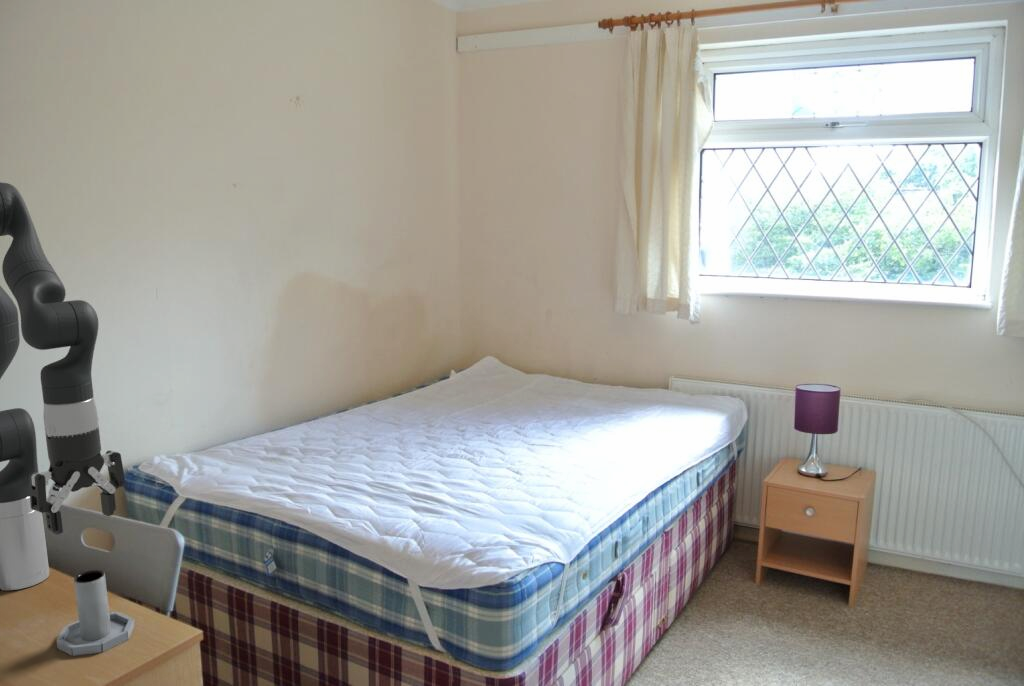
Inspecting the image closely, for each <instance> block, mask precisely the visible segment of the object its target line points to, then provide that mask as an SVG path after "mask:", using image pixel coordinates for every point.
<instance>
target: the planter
mask: <svg viewBox="0 0 1024 686" xmlns="http://www.w3.org/2000/svg"><path fill="white" fill-rule="evenodd" d="M73 585H74V592H75V599H76V607H77V609H76V610H77V616H78V620H79V625H80V633H81V638H82V639H84V640H89V641H90V640H97V639H100V638H103V637H105V636H107V635H108V634H109V633H110V632H111V622H110V614H109V613H110V608H109V597H108V590H107V580H106V574H105V571H103V570H99V569H92V570H88V571H84V572H81V573H79V574H77V575H76V576H75V577H74V578H73Z"/></svg>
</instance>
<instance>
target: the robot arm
mask: <svg viewBox="0 0 1024 686" xmlns="http://www.w3.org/2000/svg"><path fill="white" fill-rule="evenodd" d="M4 236H11V237H12V242H11V244H10V246H9V248H8V249H7V251H6V253H5V255H4V258H3V261H2V266H1V268H2V269H1V271H2V275H3V279H4V281H5V284H6V285H7V287H8V288H9V290H10V292H11V293H12V295H13V297H14V298H15V300H16V302H17V306H18V308H17V306H16V304H15V302H14V301H13V299H12V298H11V297H10V295H9V294H8V293H7V291H6V290H5V289H4V288H3V287H2V285H0V380H1V378H2V377H3V376H4V374H5V373H6V371H7V369H9V367H10V365H11V363H12V362H13V360H14V358H15V356H16V354H17V352H18V349H19V347H20V343H21V341H20V329H21V336H22V338H23V339H24V342H25V343H26V344H27V345H28V346H29V347H32V348H34V349H36V350H40V351H41V350H42V351H43V350H44V351H46V350H52V349H53V350H54V349H60V348H66V347H68V348H69V349H68V351H67V354H66V355H65V356H63V358H60V359H59V360H57V361H54V362H53V361H52V362H50V363H49V364H47V365H44V366H43V367H42V368H41V369H40V384H41V392H42V399H43V400H42V401H43V425H44V432H45V433H44V434H45V440H46V441H45V443H46V451H47V455H48V456H47V457H48V461H49V468H48V470H47V471H42V472H39V464H38V453H37V451H38V449H37V435H36V428H35V423H34V421H33V418H32V417H31V414H30V413H29V412H28V411H27V410H26V409H24V408H21V407H20V408H19V407H17V408H10V409H4V410H0V463H1V462H6V461H8V463H7V464H6V465H5V467H3V469H1V470H0V589H1V590H0V591H14V590H15V591H18V590H21V589H26V588H29V587H33V586H36V585H37V584H40V583H41V582H44V581H45V580H46V579H47V578H49V576H50V567H49V559H48V551H47V542H46V535H45V526H44V519H43V513H45V520H46V526H47V530H48V531H50V532H51V533H53V534H55V535H60V534H63V532H64V529H63V528H64V527H63V521H62V513H61V510H60V508H61V506H62V504H63V502H64V501H65V500H66V499H68V497H69V495H70V493H71V492H78V491H79V490H81V489H84V488H86V489H87V488H89V487H92V486H93V485H94V486H96V487H97V488H98V489H99V490H100V491H102V492H100V493H99V494H100V504H101V512H102V513H101V514H103V515H104V516H106V517H111V516H114V514H115V513H114V512H115V511H116V510H117V509H116V508H117V505H116V497H115V496H116V495H115V492H116V491H117V489H118V488H121V487H122V488H123V487H124V486H125V485H126V478H125V473H124V471H125V470H124V467H123V460H122V455H121V453H120V452H117V451H114V450H107V451H106V453H105V454H103V455H102V453H101V451H102V446H101V445H102V444H101V435H100V428H99V427H100V425H99V416H98V411H97V409H98V408H97V405H96V402H95V397H94V389H93V388H94V387H93V381H92V367H93V359H94V358H93V357H94V353H95V348H96V342H97V337H98V333H99V317H98V314H97V312H96V309H95V308H94V307H93V306H92V304H90V303H89V302H87V301H85V300H81V299H73V300H67V301H65V299H66V293H67V292H66V288H65V285H64V284H63V281H62V280H61V279H60V277H59V276H58V274H57V272H56V270H55V269H54V268H53V266H52V265H51V263H50V262H49V259H48V257H47V256H46V255H45V253H44V250H43V248H42V244H41V241H40V239H39V237H38V236H39V235H38V234H37V230H36V228H35V224H34V222H33V220H32V217H31V215H30V212H29V209H28V206H27V204H26V202H25V200H24V198H23V196H22V194H21V193H20V191H19V190H18V189H17V188H16V187H15V186H14V185H12V184H10V183H7V182H0V237H4ZM18 310H19V311H18ZM19 315H20V322H19ZM19 325H20V326H19ZM104 464H105V466H107V471H108V476H109V477H108V478H109V480H108V479H107V478H106V477H105V476H104V475H103V474H102V473H100V472H101V470H102V469H103V466H104ZM49 480H52V481H53V482H52V484H51V486H50V488H49V489H48V496H47V487H46V486H48V485H49Z"/></svg>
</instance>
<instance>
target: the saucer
mask: <svg viewBox="0 0 1024 686" xmlns="http://www.w3.org/2000/svg"><path fill="white" fill-rule="evenodd" d="M109 614H110V622H111V632H110V633H109V634H108V635H107V636H105V637H103V638H100V639H97V640H90V641H89V640H84V639H82V638H81V633H80V625H79V619H77V620H76V621H74V622H71V623H69V624H67V625H65V626H64V627H63V628H62V629H61V631H60V633H59V635H58V636H57V638H56V640H55V641H56V647H57V649H59V650H60V651H62V652H64V653H66V654H67V655H70V656H71V657H75V656H83V655H92V654H99V653H104V652H106V651H108V650H110V649H112V648H114V647H116V646H118V645H121V644H122V643H124V642H126V641H128V640H129V639H130V637H131V634H132V632H133V630H134V628H135V619H134V618H133V617H131V616H129V615H127V614H125V613H122V612H120V611H112V612H109Z"/></svg>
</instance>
